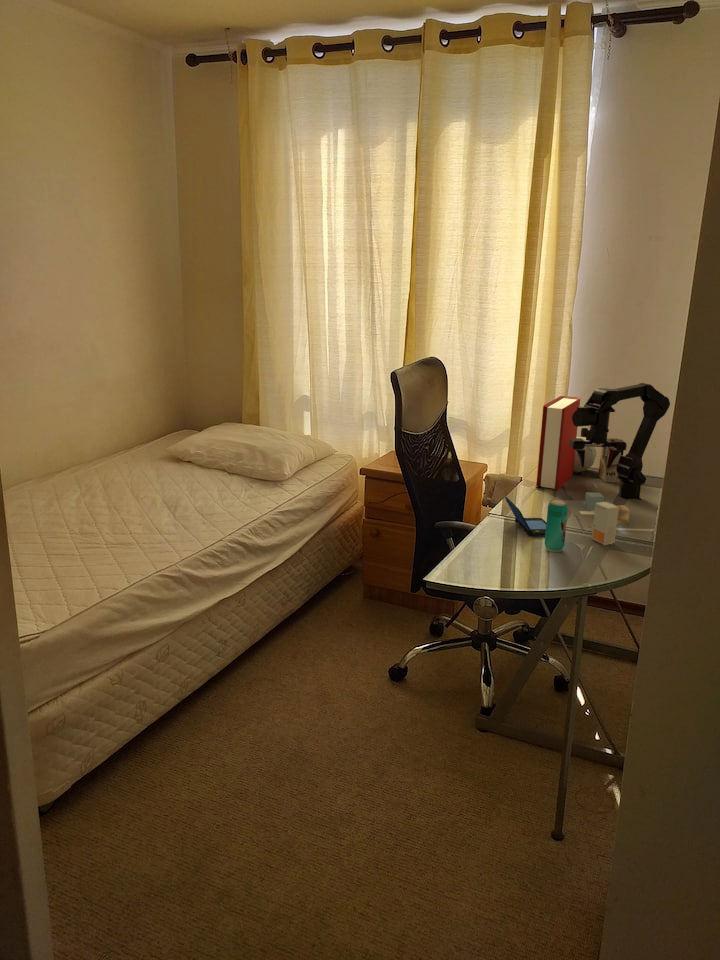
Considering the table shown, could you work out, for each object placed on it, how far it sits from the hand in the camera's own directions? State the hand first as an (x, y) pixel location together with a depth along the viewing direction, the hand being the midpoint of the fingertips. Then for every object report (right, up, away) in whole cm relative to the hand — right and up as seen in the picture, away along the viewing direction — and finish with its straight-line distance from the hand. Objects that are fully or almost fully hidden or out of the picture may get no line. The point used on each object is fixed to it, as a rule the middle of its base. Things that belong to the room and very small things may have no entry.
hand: (595, 467), depth 266 cm
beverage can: (-26, -25, -43) cm, 57 cm away
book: (-6, -5, +31) cm, 32 cm away
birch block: (+1, -19, -18) cm, 26 cm away
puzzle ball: (+6, -1, +46) cm, 46 cm away
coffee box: (+16, -4, +34) cm, 38 cm away
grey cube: (-2, -14, -5) cm, 15 cm away
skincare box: (-9, -24, -36) cm, 44 cm away
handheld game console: (-29, -21, -25) cm, 44 cm away
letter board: (-2, -15, -5) cm, 16 cm away
